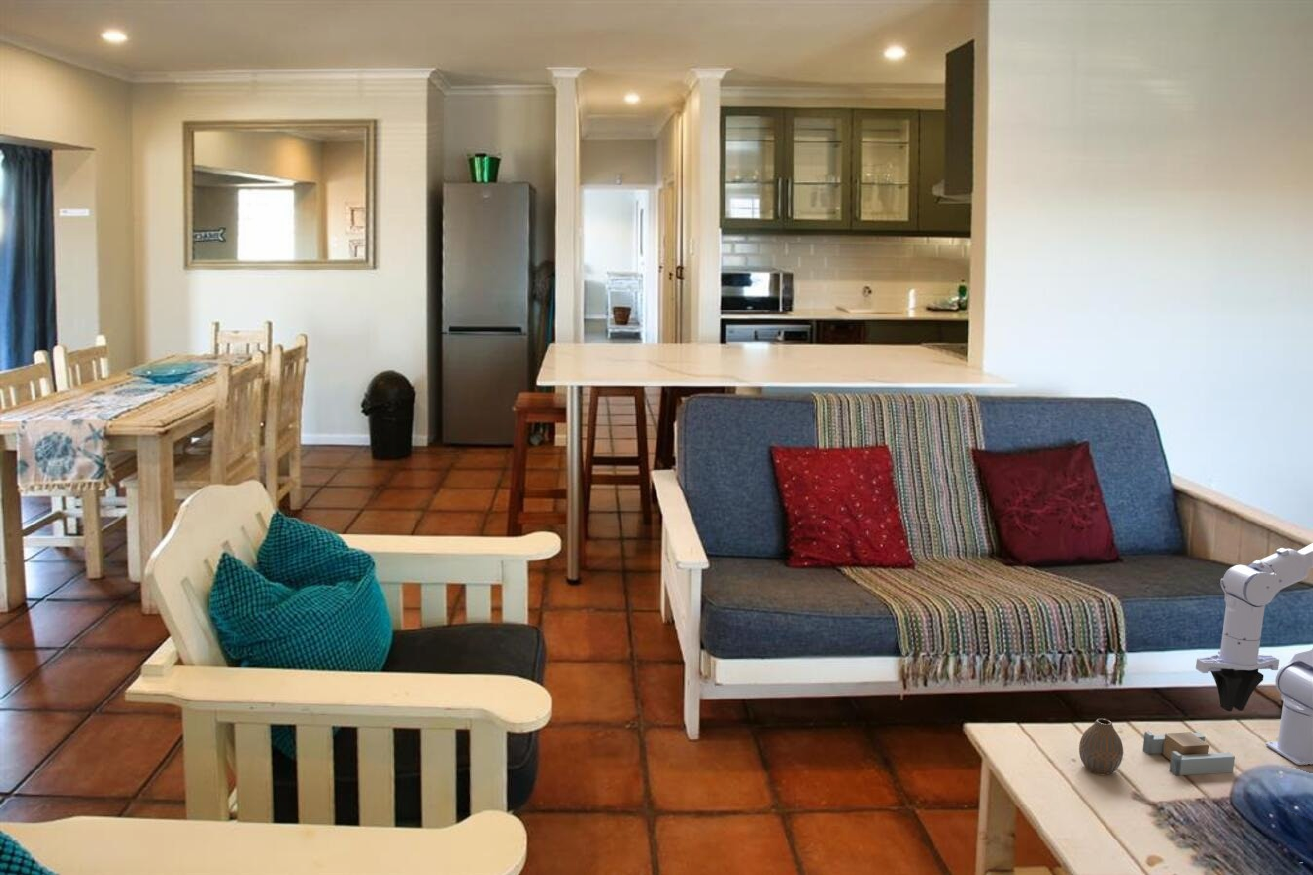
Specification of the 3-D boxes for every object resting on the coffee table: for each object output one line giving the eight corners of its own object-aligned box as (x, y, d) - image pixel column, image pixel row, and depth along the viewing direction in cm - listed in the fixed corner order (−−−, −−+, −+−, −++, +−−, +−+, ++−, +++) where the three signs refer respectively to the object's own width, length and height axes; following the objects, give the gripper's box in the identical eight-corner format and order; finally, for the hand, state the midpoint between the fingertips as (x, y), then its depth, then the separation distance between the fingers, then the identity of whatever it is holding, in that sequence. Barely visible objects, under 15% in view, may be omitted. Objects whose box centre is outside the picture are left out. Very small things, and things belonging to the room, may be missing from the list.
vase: (1112, 761, 177) (1118, 714, 176) (1126, 780, 171) (1132, 732, 169) (1072, 758, 178) (1077, 711, 177) (1084, 777, 171) (1089, 729, 170)
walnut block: (1188, 753, 181) (1190, 732, 180) (1206, 766, 176) (1209, 745, 175) (1162, 754, 180) (1165, 733, 179) (1180, 768, 175) (1183, 746, 175)
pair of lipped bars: (1197, 747, 183) (1200, 728, 183) (1233, 771, 175) (1235, 752, 174) (1142, 750, 182) (1144, 731, 181) (1175, 775, 173) (1177, 755, 172)
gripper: (1261, 625, 180) (1252, 697, 183) (1188, 628, 178) (1179, 700, 180) (1292, 640, 174) (1281, 714, 176) (1215, 642, 171) (1206, 718, 174)
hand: (1231, 708), depth 178 cm, fingers closed
